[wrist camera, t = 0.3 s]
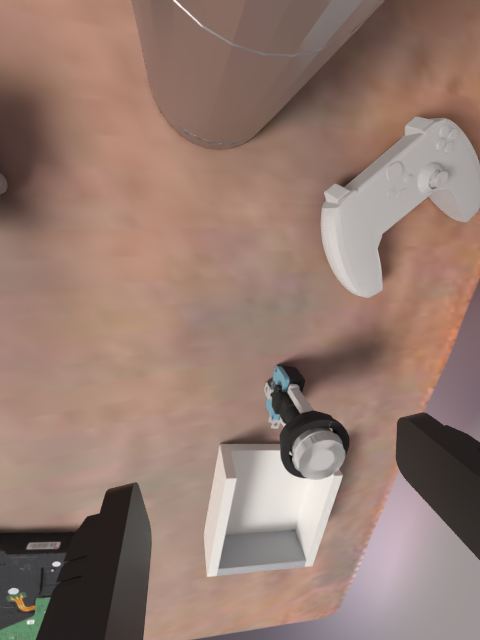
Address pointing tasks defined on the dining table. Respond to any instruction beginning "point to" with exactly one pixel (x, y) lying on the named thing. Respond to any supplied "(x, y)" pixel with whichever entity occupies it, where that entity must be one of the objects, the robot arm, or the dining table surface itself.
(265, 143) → the dining table surface
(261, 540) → the box
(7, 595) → the disk drive
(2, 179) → the elephant statuette
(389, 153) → the game controller
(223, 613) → the dining table surface
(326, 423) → the push button
